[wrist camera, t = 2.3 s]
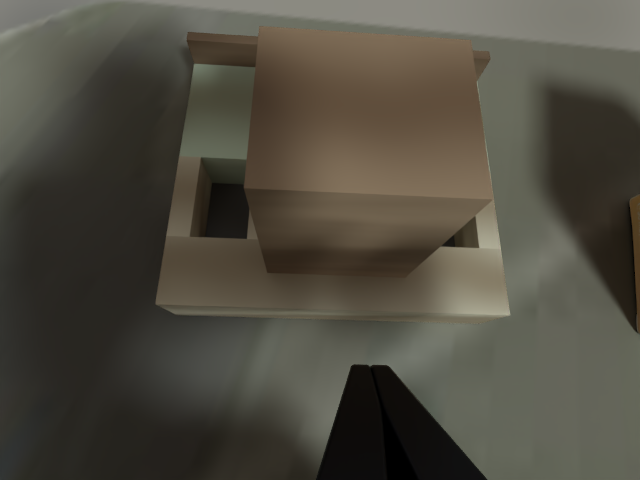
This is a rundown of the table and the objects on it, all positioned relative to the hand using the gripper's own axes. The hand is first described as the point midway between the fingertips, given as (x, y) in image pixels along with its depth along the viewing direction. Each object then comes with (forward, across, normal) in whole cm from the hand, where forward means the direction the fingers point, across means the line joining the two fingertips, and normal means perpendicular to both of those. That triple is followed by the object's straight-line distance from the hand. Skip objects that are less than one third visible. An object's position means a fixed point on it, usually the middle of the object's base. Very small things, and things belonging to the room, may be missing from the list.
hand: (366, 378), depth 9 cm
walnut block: (+10, 0, 0) cm, 10 cm away
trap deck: (+14, 0, 0) cm, 14 cm away
